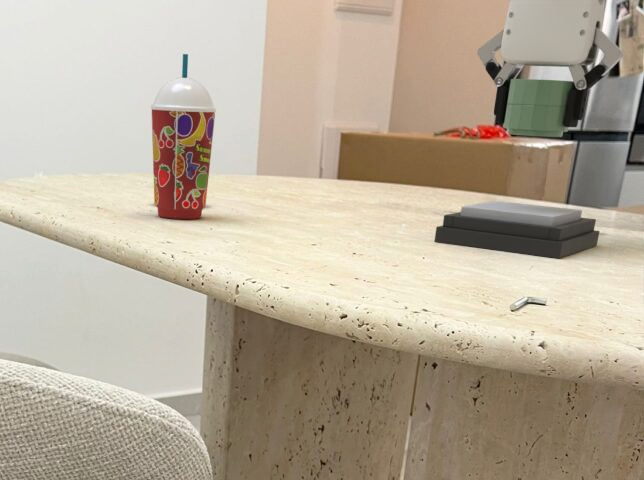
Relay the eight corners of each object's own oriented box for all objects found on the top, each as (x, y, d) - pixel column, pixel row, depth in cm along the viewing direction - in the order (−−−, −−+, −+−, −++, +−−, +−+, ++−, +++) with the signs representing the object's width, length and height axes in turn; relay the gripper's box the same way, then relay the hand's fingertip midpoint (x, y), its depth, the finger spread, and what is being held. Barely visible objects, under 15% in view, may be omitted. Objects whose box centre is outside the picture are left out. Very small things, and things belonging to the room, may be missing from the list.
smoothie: (210, 222, 122) (218, 54, 115) (146, 219, 122) (150, 51, 115) (211, 214, 130) (218, 56, 122) (150, 211, 130) (154, 53, 123)
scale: (480, 231, 126) (484, 206, 124) (596, 245, 117) (601, 219, 116) (434, 241, 114) (437, 214, 113) (559, 258, 106) (564, 229, 105)
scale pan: (492, 213, 122) (494, 200, 121) (579, 222, 116) (582, 209, 115) (459, 219, 114) (461, 206, 113) (551, 230, 108) (553, 216, 107)
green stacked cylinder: (514, 132, 116) (522, 80, 114) (574, 136, 112) (584, 82, 110) (493, 133, 110) (501, 78, 108) (555, 137, 106) (565, 80, 104)
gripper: (655, -43, 103) (621, 129, 109) (499, -37, 112) (476, 120, 118) (638, -53, 97) (603, 129, 103) (475, -46, 106) (452, 120, 113)
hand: (535, 123), depth 111 cm, fingers closed on green stacked cylinder, 7 cm apart
